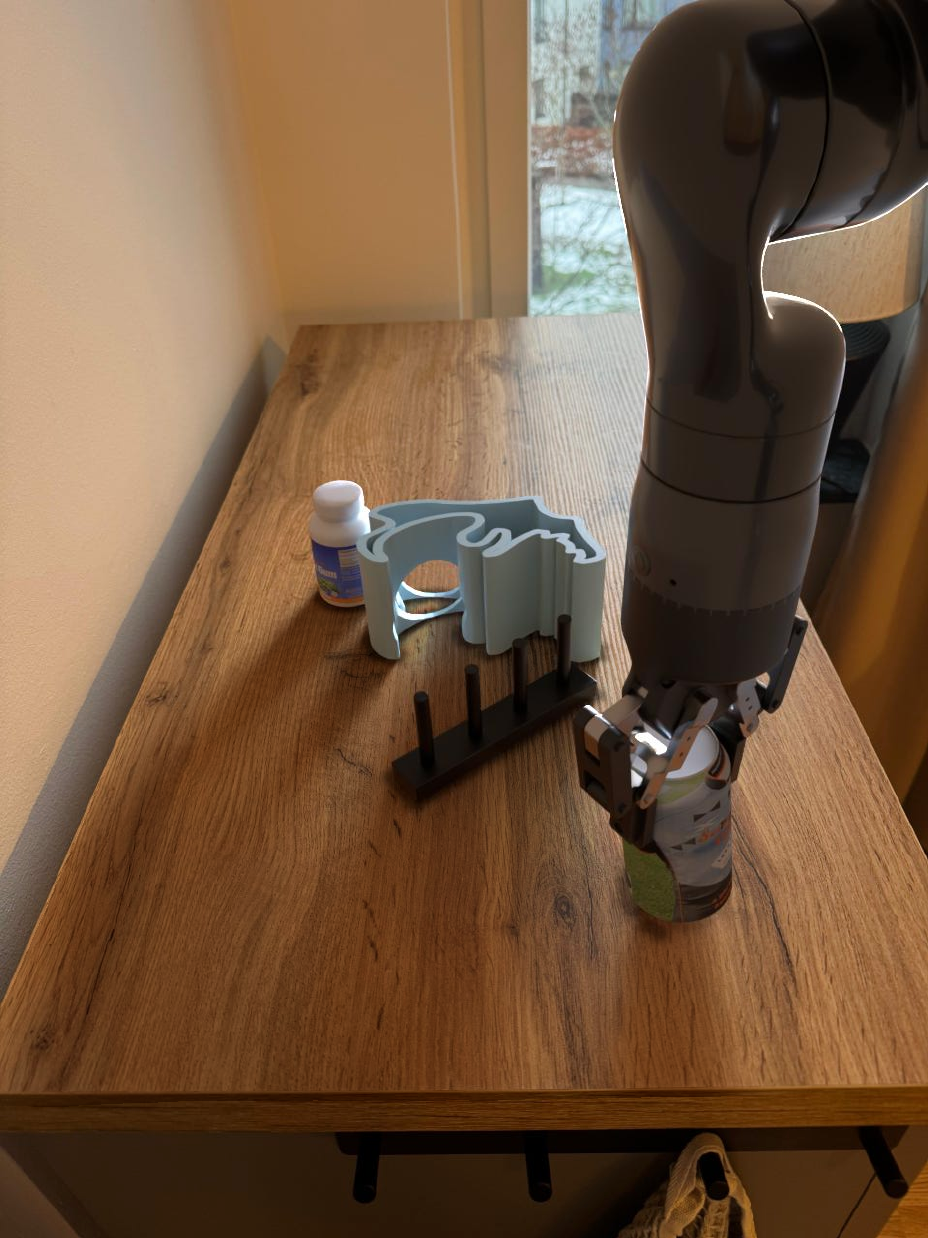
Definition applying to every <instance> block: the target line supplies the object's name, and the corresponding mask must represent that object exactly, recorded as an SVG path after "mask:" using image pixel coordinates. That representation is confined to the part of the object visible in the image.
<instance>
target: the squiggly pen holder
mask: <svg viewBox="0 0 928 1238" xmlns="http://www.w3.org/2000/svg"><path fill="white" fill-rule="evenodd" d="M369 510H370V511H369V512H368V517H369V524H370V532H369V533H367V534H365V535H363V536H361V537H360V538H359V539H358V541H357V543H356V546H357V553H358V560H359V567H360V573H361V580H362V587H363V594H364V601H365V604H364V607H365V613H366V620H367V627H368V633H369V640H370V645H371V647H372V648H373V650H374V651H375V652H376V653H377V654H378V655H380V656H381V657H383V658H386V659H387V660H399V659H400V658H401V652H400V643H399V642H400V641H399V635H401V634H402V633H403V632H404V631H406V630H407V629H410V628H411V627H412V626H415V625H416V624H419V623H421V622H423V621H425V620H429V619H432V618H435V617H438V616H442V615H448V614H454V613H459V612H463V614H462V618H461V630H462V631H461V632H462V637H463V639H464V640H465V642H468V643H470V644H473V645H482V644H485V645H486V646H485V647H486V654H487V655H489V656H495V655H496V656H497V655H500V654H502V653H505V652H506V651H508V650H509V649H510V648H512V642H513V640H514V639H517V638H522V639H524V638H526V637H527V636H529V635H530V634H533V633H534V632H537V631H538V632H539V635H540V636H542V637H550V636H553V638H554V639H555V640H557V618H558V616H560V615H562V614H567V615H570V616H571V618H572V634H571V662H573V663H574V662H575V663H584V662H590V661H593V660H596V659H598V658H600V657H601V647H602V632H603V613H604V597H605V596H604V595H605V583H606V569H607V568H606V567H607V565H606V564H607V553H606V550H605V549H604V547H603V546H601V544H600V543H599V542H598V541H597V540H596V539H595V538H594V537H593V536H592V535H591V533H590V532H589V530H588V528H587V527H586V525H585V522H584V519H583V518H582V517H581V516H579V515H564V514H560V513H556V512H554V511H552V510H551V509H549V508H548V507H547V505H546V503H545V502H544V499H543V498H542V496H540V495H525V496H516V497H507V498H497V499H485V500H450V499H448V500H447V499H434V498H433V499H432V498H428V499H427V498H426V499H425V498H424V499H412V500H411V499H410V500H403V501H402V500H401V501H395V502H389V503H385V504H382V505H378V506H376V507H373V508H372V509H369ZM432 561H442V562H443V561H444V562H447V563H451V564H453V565H455V566H456V567H457V568H458V583H459V584H458V586H456V587H455V588H454V589H452V590H451V589H450V590H447V591H443V592H423V591H420V590H417V589H414V588H412V587H411V586H409V585H407V584H406V582H405V579H406V578H407V577H408V575H410V573H412V571H414V570H415V569H416V568H417V567H418V566H421V565H423V564H426V563H427V562H432ZM424 598H425V599H426V598H447V599H456V600H455V601H454V602H453V603H452V604H450V605H448V606H446V607H445V608H442V609H439V610H437V611H434V612H429V613H424V614H423V613H421V614H419V613H409V612H406V605H405V603H404V601H408V600H413V599H414V600H415V599H424Z"/></svg>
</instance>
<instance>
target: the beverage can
mask: <svg viewBox="0 0 928 1238" xmlns="http://www.w3.org/2000/svg"><path fill="white" fill-rule="evenodd" d="M644 728H645V730H646V731H647V733H649V734H650V735H651V736H653V737H654V738H655V739H656V740H658V741H659V742H660V743H662V744H663V745H664V746H665V747H668V745H669V743H670V741H671V740H668V739H665V738H664V737H662V736H661V735H660V734H658V733H657V732H656V731H655V730H653V729H652V728H651V727H649V726H648V725H647V724H646V723H645V722H644ZM631 769H632V770H634V771H635V772H636V773H637V774H638V775H640V776H641V777H642V778H643V777H644V775H645V773H646V771H647V764H646V763H645V761H643V760H642V759H641V758H640V757H638V756H636V758H635V760H634V762H633V764H632V766H631ZM656 798H657V799H658V800H657V807H656V814H655V822H654V829H653V836H652V841H651V842H650V843H648V844H647V845H645V846H644V847H643V848H641V849H639V848H637V847H636V846H634V845H633V844H631V845H630V844H628V843H627V842H626V841H625V840H624V839H623V838H622V837H621V842H622V851H623V859H624V868H625V877H626V886H627V889H628V892H629V894H630V896H631V898H632V900H633V901H634V902H635V904H637V905H638V907H639V908H640V909H642V910H643V911H644V912H645V913H647V914H649V915H650V916H652V917H653V918H656V919H658V920H662V921H666V922H670V923H678V924H679V923H680V924H684V923H694V922H698V921H702V920H704V919H707V918H710V917H711V916H713V915H714V914H716V913H717V912H718V911H720V910H721V909H722V908H723V907H724V906H725V905H726V904H727V902H728V901H729V898H730V896H731V893H732V889H733V845H732V844H733V842H732V840H733V839H732V838H733V837H732V835H733V834H732V784H731V766H730V760H729V756H728V754H727V752H726V750H725V748H724V747H723V745H722V744H721V743H720V742H719V741H718V739H717V737H716V735H715V733H714V732H713V731H712V729H711V728H710V727H708V726H707V725H705V726H704V727H703V728H702V729H701V730H700V731H699V733H698V735H697V737H696V739H695V741H694V743H693V745H692V747H691V749H690V751H689V753H688V755H687V757H686V759H685V761H684V763H683V766H682V767H681V768H680V769H679V770H676V771H672V772H668V774H667V776H666V778H665V780H664V783H663V785H662V787H661V789H660V791H659V793H658V795H657V797H656Z"/></svg>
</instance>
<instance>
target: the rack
mask: <svg viewBox="0 0 928 1238" xmlns="http://www.w3.org/2000/svg"><path fill="white" fill-rule="evenodd" d="M571 634H572V618H571V616H570V615H567V614H562V615H560V616H558V618H557V639H556V663H555V664H556V665H555V666H556V667H555V668H554V669H552V670H550V671H548V672H546V673H545V674H543V675H542V676H540V677H538V678H536V679H534V680H533V681H531V682H529V683H528V641H527V640H526V639H524V638H517V639H514V640H513V642H512V647H511V658H512V659H511V660H512V662H511V664H512V666H511V667H512V693H510V694H508V695H506V696H505V697H503V698H501V699H499V700H498V701H496V702H495V703H492V704H491V705H489V706H487V707H485V708H484V709H482V691H481V674H480V673H481V672H480V671H481V670H480V666H479V665H478V664H476V663H468V664H466V665H465V666H464V667H463V673H464V675H463V676H464V677H463V678H464V689H465V690H464V691H465V706H466V719H464V720H462V721H461V722H459V723H457V724H455V725H453V726H451V727H450V728H448V729H447V730H445V731H443V732H441V733H440V734H438V735H436V736H434V733H433V724H432V723H433V722H432V713H431V704H430V694H429V693H428V692H427V691H425V690H418V691H416V692H414V693H413V696H412V701H413V707H414V708H413V710H414V717H415V718H414V719H415V726H416V727H415V728H416V735H417V745H418V746H417V747H415V748H413V749H411V750H410V751H408V752H406V753H404V754H403V755H401V756H399V757H397V758H395V759H393V760H392V761H390V764H391V765H390V766H391V770H392V777H393V779H395V780H396V781H397V783H398V784H399V785H400V786H401V787H402V788H403V789H404V790H405V791H406V792H407V793H408V795H410V796H411V798H412V799H413V800H415V802H416V803H417V804H420V802H422V801H424V800H425V799H427V798H429V797H431V796H433V795H434V794H435V793H437V792H439V791H441V790H442V789H444V788H445V787H447V786H449V785H451V784H452V783H454V782H456V781H457V780H459V779H461V778H462V777H464V776H465V775H467V774H468V773H470V772H472V771H473V770H475V769H477V768H479V767H481V766H482V765H483V764H485V763H486V762H489V761H490V760H492V759H493V758H495V757H497V756H498V755H500V754H502V753H504V752H505V751H507V750H509V749H511V748H512V747H514V746H515V745H517V744H518V743H520V742H522V741H523V740H525V739H527V738H528V737H530V736H532V735H533V734H535V733H536V732H538V731H540V730H542V729H543V728H545V727H547V726H548V725H550V724H552V723H553V722H555V721H556V720H559V719H560V718H561V717H564V716H565V715H566V714H568V713H570V712H572V711H573V710H575V709H576V708H578V707H580V706H581V705H583V704H585V703H587V702H588V701H590V700H592V699H594V698H595V697H596V696H597V685H598V681H597V680H596V679H595V678H593V677H592V676H591V675H589V674H588V673H587V672H586V671H584V670H583V669H582V668H580V667H579V666H577V664H575V663H574V662H573V661H571Z"/></svg>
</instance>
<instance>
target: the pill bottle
mask: <svg viewBox="0 0 928 1238" xmlns="http://www.w3.org/2000/svg"><path fill="white" fill-rule="evenodd" d="M312 504H313V510H314V512H313V513H312V514H311V516H310V518H309V519H308V525H307V528H308V535H309V540H310V546H311V553H312V556H313V564H314V571H315V575H316V576H315V577H316V581H317V586H318V591H319V594H320V597H321V598H322V599H323V601H325V602H326V603H328V604H329V605H332V606H335V607H340V608H353V607H359V606H361V605H365V601H364V594H363V587H362V580H361V573H360V567H359V560H358V553H357V546H356V543H357V541H358V539H359V538H360V537H361V536H363V535H365V534H367V533H369V532H370V524H369V517H368V512H369V511H370V510H371V509H369V508H368V507H367V506H365V500H364V494H363V489H362V487H361V486H360V485H358V483H355V482H353V481H349V480H333V481H328V482H325V483H323V484H321V485H319V486H317V488H315V490H314V491H313V493H312Z"/></svg>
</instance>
